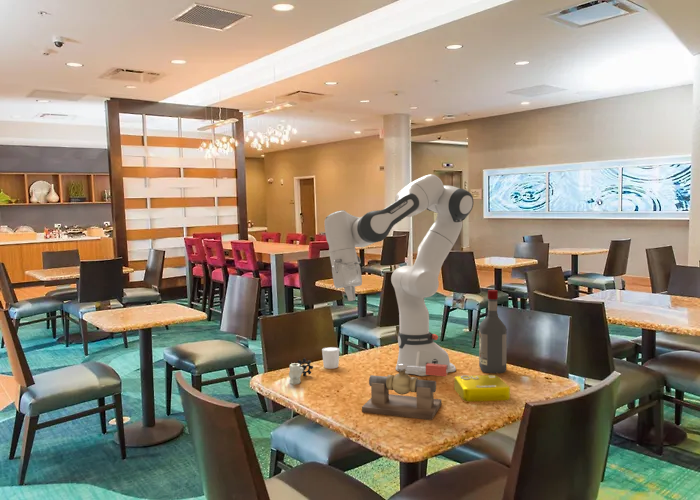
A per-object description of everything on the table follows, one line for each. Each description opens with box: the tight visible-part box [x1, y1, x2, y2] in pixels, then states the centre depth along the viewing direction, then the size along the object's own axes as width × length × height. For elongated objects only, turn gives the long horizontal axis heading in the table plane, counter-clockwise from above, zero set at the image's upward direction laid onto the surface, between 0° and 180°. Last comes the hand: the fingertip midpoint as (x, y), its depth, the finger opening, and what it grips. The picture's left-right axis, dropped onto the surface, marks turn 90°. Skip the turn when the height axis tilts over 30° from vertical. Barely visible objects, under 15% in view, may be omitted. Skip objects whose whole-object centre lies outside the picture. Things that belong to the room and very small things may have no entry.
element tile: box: [453, 374, 511, 403], centre depth 180 cm, size 15×15×5 cm
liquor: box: [478, 289, 508, 374], centre depth 207 cm, size 9×9×30 cm
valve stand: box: [361, 371, 443, 421], centre depth 167 cm, size 14×21×11 cm, turn 70°
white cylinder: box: [321, 346, 341, 370], centre depth 215 cm, size 7×7×7 cm
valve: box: [288, 357, 314, 385], centre depth 198 cm, size 7×7×12 cm
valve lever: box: [396, 363, 449, 377], centre depth 164 cm, size 15×3×3 cm, turn 69°
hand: (352, 300), depth 182 cm, fingers closed
